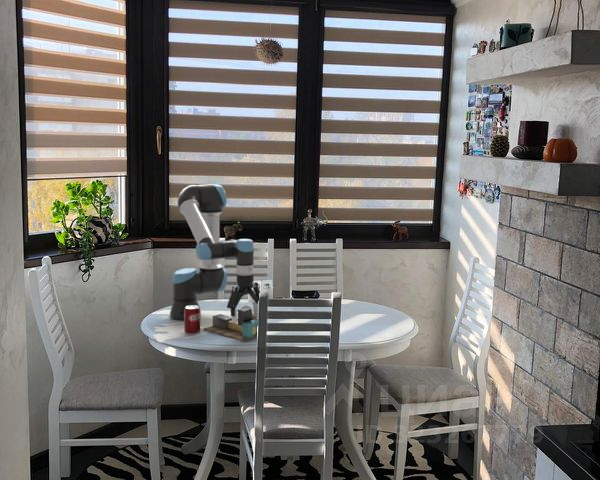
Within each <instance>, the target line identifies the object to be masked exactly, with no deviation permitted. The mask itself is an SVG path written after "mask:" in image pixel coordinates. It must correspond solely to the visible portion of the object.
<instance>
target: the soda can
mask: <svg viewBox="0 0 600 480" xmlns="http://www.w3.org/2000/svg"><path fill="white" fill-rule="evenodd" d="M200 311H201V307H200V305H199V306H196V305H189V306H185V308H184V320H183V323H184V326H183V327H184V329H183V330H184V333H185V334H186V335H197V334H199V333H200V332H201V316H200Z"/></svg>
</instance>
